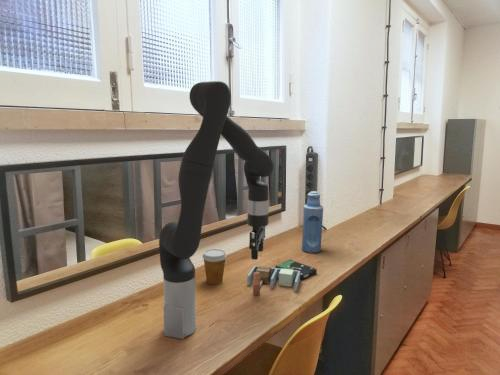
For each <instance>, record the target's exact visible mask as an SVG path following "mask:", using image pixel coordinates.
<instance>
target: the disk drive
mask: <svg viewBox="0 0 500 375" xmlns="http://www.w3.org/2000/svg"><path fill="white" fill-rule="evenodd" d="M274 268H280V269H281V268H282V269H290V270H297V271H300V281H304V280H306V279H309V278H310V277H313V276H316V275H317V271H318V270H317V268H314V267H311V266H309V265H306V264H305V263H301V262H298V261H297V260H296V261H295V260H293V259H287V260H286V261H283V262H281V263H279V264H276V265H275V267H274Z"/></svg>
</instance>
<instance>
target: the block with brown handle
mask: <svg viewBox="0 0 500 375" xmlns="http://www.w3.org/2000/svg"><path fill="white" fill-rule="evenodd" d="M258 266H259V267H258V268H257V270H256V272H254V273H253V280H252V295H254V296H260V295H261V287H262V284H267V285H268V284H270V282H271V268H272V267H271V266H266V265H258Z"/></svg>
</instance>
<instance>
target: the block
mask: <svg viewBox="0 0 500 375" xmlns="http://www.w3.org/2000/svg"><path fill="white" fill-rule="evenodd" d="M293 272H294V270H290V269H282V268H281V270H280V272H279V278H278V286H282V287H293V283H294V280H293Z"/></svg>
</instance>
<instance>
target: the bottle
mask: <svg viewBox="0 0 500 375" xmlns="http://www.w3.org/2000/svg"><path fill="white" fill-rule="evenodd" d="M323 216H324V206H323V205H321V194H320V192H318V191H317V190H316V191H315V190H312V191H309V192H308V193H307V200H306V204H304V205H303V216H302V218H303V220H302V221H303V222H302V235H301V236H302V237H301V250H302V251H303V252H304V253H307V254H318V253H320V252H322V234H323V220H324V219H323Z"/></svg>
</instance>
